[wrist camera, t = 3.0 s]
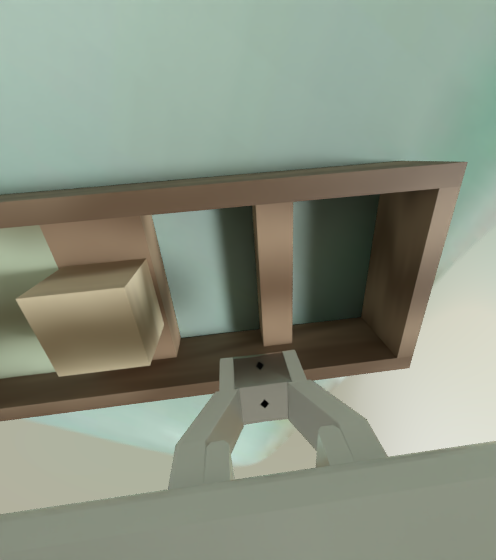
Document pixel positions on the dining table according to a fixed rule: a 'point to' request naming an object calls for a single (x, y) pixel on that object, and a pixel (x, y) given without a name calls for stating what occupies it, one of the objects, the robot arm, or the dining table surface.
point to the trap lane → (269, 270)
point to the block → (95, 316)
